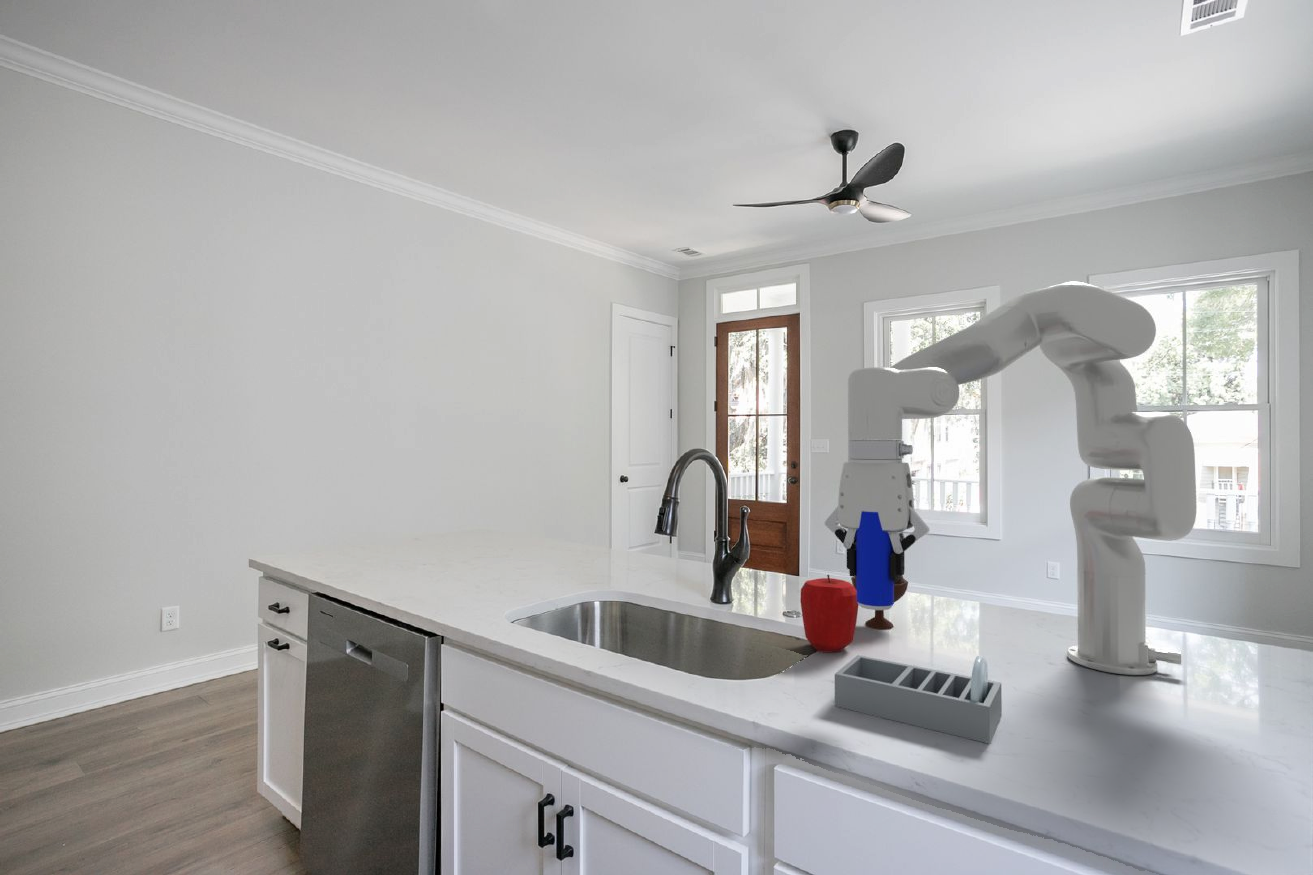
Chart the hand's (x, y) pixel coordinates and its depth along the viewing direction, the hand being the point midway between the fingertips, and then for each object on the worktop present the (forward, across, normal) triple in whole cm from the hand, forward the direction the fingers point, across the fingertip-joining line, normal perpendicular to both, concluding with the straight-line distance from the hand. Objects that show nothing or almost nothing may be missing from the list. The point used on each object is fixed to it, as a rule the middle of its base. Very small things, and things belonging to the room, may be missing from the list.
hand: (875, 575), depth 95 cm
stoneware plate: (+17, -14, 0) cm, 22 cm away
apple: (+19, +14, -20) cm, 30 cm away
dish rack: (+18, -6, 0) cm, 19 cm away
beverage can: (+5, 0, 0) cm, 5 cm away
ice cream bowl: (+18, +11, -40) cm, 45 cm away
